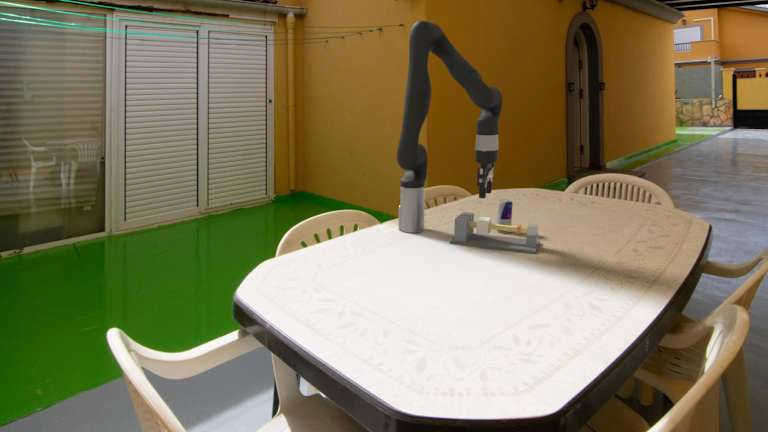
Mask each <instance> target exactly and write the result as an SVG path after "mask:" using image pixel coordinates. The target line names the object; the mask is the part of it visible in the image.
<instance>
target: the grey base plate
mask: <svg viewBox="0 0 768 432" xmlns="http://www.w3.org/2000/svg"><path fill="white" fill-rule="evenodd" d="M526 239H527V238H520V237H519V238H518V237H510V236H502V235H493V234H492V235H491V234H488V235H482V234H476V233H475V232H473V235H472V236H471V237H470V238H469V239H468V240H467V241H466V242H461V241H454V236H453V237H452V238H451V239H449V244H453V245H459V246H460V245H461V246H469V247H476V248H477V247H478V248H483V249H491V250H492V249H493V250H501V251H509V252H515V253H516V252H517V253H526V254H533V255H535V254H536V253H537V251H538V249H539V247H540V244H541V240H538V242H537V245H536V247H535V248H534V247H526Z"/></svg>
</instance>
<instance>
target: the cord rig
mask: <svg viewBox="0 0 768 432" xmlns="http://www.w3.org/2000/svg"><path fill="white" fill-rule="evenodd" d="M539 225H540V224H539V223H531V222H529V223H528V225H527V227H526V226H522V224H521V223H519V224H518V225H517V226H516V225H511V226H509V225H499V224H497V223H491V224H490V223H489V229H491V231H493V230H494V231H497V230H502V231H511V232H513V233H516V235H520V234H521V233H523V234H526V238H525V239H526V247H534V248H535V247H536V245H537V242H538V239H539ZM476 226H477V221H475V212H470V211H462V212H461V213H460V214H459V215H458V216H456V217H455V218H454V233H453V234H454V236H453V237H454V241H461V242H466V241H467V240H468V239H469V238H470V237H471V236H472V235H473V233H475V232H474V231H475V230H474V228H475V229H476ZM511 232H510V233H511Z"/></svg>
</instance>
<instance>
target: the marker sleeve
mask: <svg viewBox="0 0 768 432" xmlns="http://www.w3.org/2000/svg"><path fill="white" fill-rule="evenodd" d="M476 222H477V226H476V228H475V229H476V230H475V231H476V234H482V235H490V233H491V231H492V229H489V223H490V224H492V217H489V216H488V217H487V216H479V217H478V218H477V219H476Z"/></svg>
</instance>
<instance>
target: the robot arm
mask: <svg viewBox="0 0 768 432" xmlns="http://www.w3.org/2000/svg"><path fill="white" fill-rule="evenodd" d="M408 37H409V38H408V40H409V41H408V67H407V68H408V70H407V78H406V86H405V87H406V88H405V94H404V105H403V106H404V107H403V108H404V109H403V114H402V124H401V132H400V137H399V141H398V146H397V152H396V161H397V164H398V166H399V167H400V168H401V169H402V170H405V171H404V174H403V176H401V178H400V205H399V206H398V231H402V232H404V233H410V234H413V233H420V232H423V231H424V230H425V203H426V201H425V194H426V193H425V189H426V188H425V184H426V179H427V175H428V153H427V149H426V147H425V146H424V145H423V144H421V143H419V138H420V134H421V130H422V127H423V125H424V123H425V121H426V119H427V116H428V115H429V111H430V107H431V99H432V84H431V78H430V75H429V69H428V64H429V63H428V60H429V56H430V55H429V53H432V54H433V55H434V56H436V57H437V58H439V59H440V60H441V62H442V63H443V64H444V65H445V67H446V69H447V71H448V73H449V74H450V75H451V77H452V78H453V79H454V81H455V82H456V83H458V85H459V86H460V87H461V88H462V89H464V91H465V92H466V94H467V95H468V97H469V99H470V100H471V101H472V103H473V104H474V105H475V106H476V107H478V108H479V109H481V113H480V114H481V115H480V117H478V118H477V122H476V137H475V145H474V146H475V148H474V149H475V150H474V151H475V154H474V156H475V157H474V161H475V163H476V164H480V167H477V180H476V186H477V187H478V198H479V199H485V198H486V197H487V194H491V193H492V192H493V191H492V189H493V188H492V187H493V186H492V183H493V182H494V179H495V177H494V176H495V164H497V163H498V161H499V120H500V116H501V114H502V113H501V112H502V106H503V93H502V91H501V90H500V89H499V88H497V87H496V86H488V85H487V84H486V83H485V81H484V80H483V76H482V75H481V73H480V72H479V71H478V70H477V69H476V68H475V66H473V65H472V64H471V63H470V62H469V61H468V60H467V59H466V58H465V57H464V56H463V55H461V53H460V52H459V50H457V49H456V47H455V46H454V44H452V42H451V41H450V40H449V38H448V36H447V35H446V34H445V32H444V30H442V28H441V27H440V26H439V25H438V24H437V23H434V22H432V21H426V20H417V21H416V22H415V23H414V24H412V27H411V29H410V31H409V36H408Z"/></svg>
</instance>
